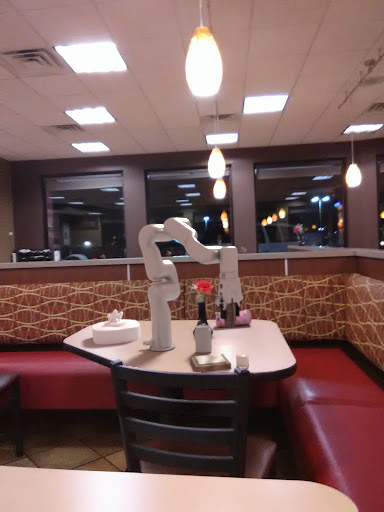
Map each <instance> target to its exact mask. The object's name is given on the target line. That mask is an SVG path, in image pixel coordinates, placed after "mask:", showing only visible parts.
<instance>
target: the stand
mask: <svg viewBox="0 0 384 512" xmlns="http://www.w3.org/2000/svg"><path fill="white" fill-rule="evenodd" d="M190 362H191V364H192V366H193V369H194V371H195V372H196V373H199V372H200V373H201V372H212V371H219V370H220V371H221V370H222V371H223V370H229V369H230V370H231V369H232V363H231V362H230V361H229V360H228V358H227V356H225V354H223V353H218V354H206V355H197V356H196V355H195V356H190Z"/></svg>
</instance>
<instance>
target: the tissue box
mask: <svg viewBox="0 0 384 512" xmlns="http://www.w3.org/2000/svg"><path fill="white" fill-rule="evenodd" d="M106 316H107V319H108V320H105V321H100V322H97V323H94V324H93V325H92V327H91V328H92V339H93V340H92V341H93V343H94V344H96V345H113V344H112V343H116V344H122V343H123V342H124V343H130V341H131V342H135V340H136V341H138V340H140V339H141V338H140V337H142V336H141V324H140V322H138V320H136V319H122V318H123V316H124V312H123V311H122V310H121V311H119V312H118V310H117V309H114V310H113V311H112V312H111V313H107V315H106ZM139 338H140V339H139Z"/></svg>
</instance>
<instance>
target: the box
mask: <svg viewBox="0 0 384 512" xmlns="http://www.w3.org/2000/svg"><path fill="white" fill-rule="evenodd" d="M231 301H232V303H230V304H227V306H226V309H225V310H227V319H224V321H225V326H229V327H231V328H232V327H235V325H236V323H237V320H236V303H234V302H233V298H231ZM236 326H237V325H236Z"/></svg>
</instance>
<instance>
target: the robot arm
mask: <svg viewBox="0 0 384 512" xmlns="http://www.w3.org/2000/svg"><path fill="white" fill-rule="evenodd" d="M197 239H198V232H197V231H196V230H195V229H193V228H192V224H191V222H190V220H189V219H187V218H185V217H169V218H167V219H166V220H165V221H164V223H163V224H160V223H159V224H157V223H150V224H146V225H144V226H143V227H142V228H141V229H140V231H139V234H138V244H139V247H140V249H141V250H140V251H141V254H142V258H143V262H144V267H145V272H146V276H147V278H148V279H149V281H150V280H151V281H162V282H157V283H154V284H152V285H150V286H149V288H148V289H147V297H148V301H149V307H150V308H149V309H150V323H151V339H149V340H143V341H142V345H143V346H145V347H146V346H149V347H148V348H149V350H150V351H153V352H166V351H167V352H168V351H171V350H174V349H175V348H176V344H175V343H174V342H173V338H172V337H173V336H172V335H173V334H172V317H171V316H172V315H171V314H172V313H171V308H170V306H169V303H168V302H170V301H174V300H176V299H178V298H179V296H180V295H181V287H180V282H179V277H178V276H179V275H178V272H177V268H176V266H175V264H174V262H172V261H171V260H169V259H164V260H163V259H162V255H161V251H160V249H159V247H158V246H157V244H156V242H171V241H174V240H175V241H177V243H179V244H181V245H182V246H183V247H184V249H185V251H186V253H187V254H188V256H189V257H191V258H192V259H194V260H195V261H196V262H198V263H199V264H201V265H202V264H203V265H212V264H213V265H215V264H219V275H218V277H219V281H218V282H219V283H218V289H217V290H218V292H217V293H218V294H217V298H215V300H214V303H215V305H216V306H217V307H218V309H219V312H220V318H221V319H227V310H225V309H226V306H227V304H230V303H232V301H231V298H233V302H234V303H236V316H238V317H239V316H240V311H241V310H240V307H241V304H242V303H243V300H244V298H245V296H243V293H242V285H241V280H240V278H239V266H238V265H239V263H238V262H239V261H238V248H237V247H236V246H231V245H230V246H222V245H221V246H220V245H211V246H209V245H207V246H205V245H203V244H202V243H200V241H198V240H197Z"/></svg>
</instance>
